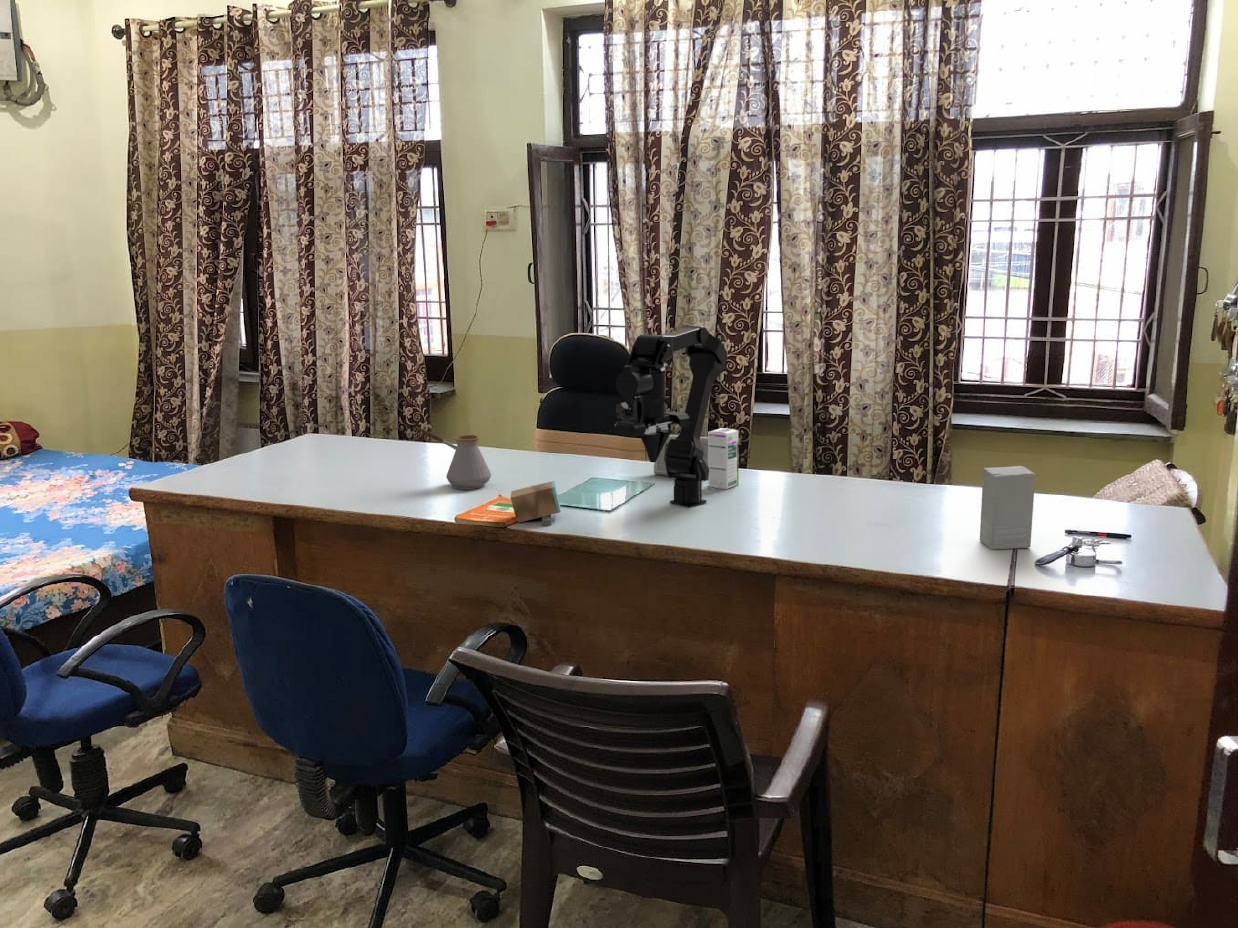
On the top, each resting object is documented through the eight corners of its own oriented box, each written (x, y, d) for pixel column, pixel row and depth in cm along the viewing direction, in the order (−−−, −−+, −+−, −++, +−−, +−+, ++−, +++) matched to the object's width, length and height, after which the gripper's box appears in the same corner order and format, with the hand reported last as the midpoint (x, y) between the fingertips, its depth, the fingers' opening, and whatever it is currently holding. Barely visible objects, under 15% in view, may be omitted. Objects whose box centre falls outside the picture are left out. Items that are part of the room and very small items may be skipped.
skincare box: (1017, 539, 201) (1022, 464, 198) (1032, 550, 194) (1038, 472, 191) (976, 540, 201) (981, 465, 197) (990, 551, 194) (995, 473, 190)
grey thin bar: (550, 511, 229) (550, 506, 228) (551, 525, 217) (551, 520, 217) (542, 511, 228) (542, 506, 228) (542, 525, 217) (542, 520, 216)
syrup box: (727, 489, 246) (727, 432, 243) (707, 486, 249) (707, 430, 246) (738, 485, 250) (739, 429, 247) (719, 482, 254) (719, 427, 251)
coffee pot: (499, 482, 257) (497, 426, 254) (478, 493, 247) (475, 434, 244) (429, 477, 265) (426, 422, 262) (405, 486, 254) (401, 430, 251)
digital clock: (650, 475, 263) (649, 436, 261) (666, 469, 270) (666, 431, 268) (703, 482, 254) (704, 442, 252) (719, 475, 262) (719, 436, 259)
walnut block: (554, 480, 224) (511, 491, 224) (554, 487, 218) (510, 497, 218) (560, 505, 225) (517, 515, 225) (560, 512, 219) (517, 522, 219)
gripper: (655, 384, 227) (655, 450, 230) (596, 393, 214) (597, 463, 218) (691, 389, 219) (691, 457, 223) (632, 398, 207) (633, 471, 210)
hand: (653, 461), depth 218 cm, fingers closed
